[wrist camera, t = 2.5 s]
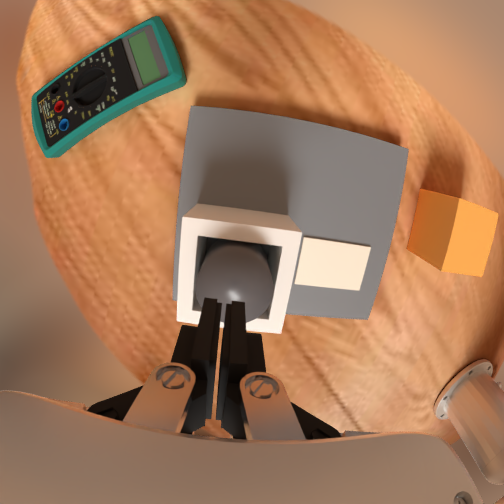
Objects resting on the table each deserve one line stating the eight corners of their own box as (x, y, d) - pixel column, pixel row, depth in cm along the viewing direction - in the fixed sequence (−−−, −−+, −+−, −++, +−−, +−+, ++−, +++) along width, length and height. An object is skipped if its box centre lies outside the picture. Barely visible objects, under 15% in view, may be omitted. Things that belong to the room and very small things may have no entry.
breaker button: (272, 239, 19) (279, 259, 15) (262, 297, 20) (266, 327, 17) (207, 231, 19) (198, 248, 15) (202, 290, 20) (193, 318, 16)
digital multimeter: (40, 101, 19) (23, 98, 16) (166, 23, 18) (158, 9, 15) (56, 161, 21) (38, 163, 19) (191, 85, 20) (184, 75, 17)
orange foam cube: (460, 202, 23) (498, 213, 17) (447, 256, 25) (481, 276, 19) (419, 188, 23) (459, 198, 17) (406, 248, 25) (441, 271, 19)
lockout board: (400, 149, 22) (447, 149, 15) (362, 312, 26) (391, 353, 20) (194, 109, 20) (173, 88, 14) (176, 292, 25) (156, 335, 18)
